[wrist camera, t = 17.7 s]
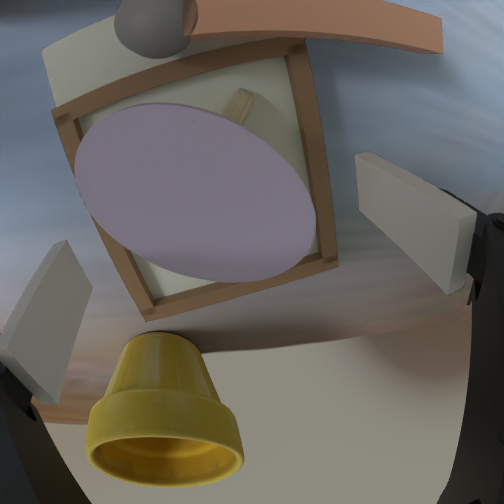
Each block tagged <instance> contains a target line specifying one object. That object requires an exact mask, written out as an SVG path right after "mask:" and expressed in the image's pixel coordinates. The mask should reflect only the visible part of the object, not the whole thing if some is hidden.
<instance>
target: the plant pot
mask: <svg viewBox="0 0 504 504" xmlns="http://www.w3.org/2000/svg"><path fill="white" fill-rule="evenodd" d="M85 450H86V456H87V458H88V460H89V462H90V463H91V464H92V465H93V466H94V467H95V468H97V469H98V470H100V471H101V472H103V473H104V474H106V475H109V476H111V477H114V478H116V479H119V480H122V481H125V482H129V483H133V484H138V485H143V486H151V487H163V488H182V487H192V486H199V485H205V484H210V483H213V482H216V481H219V480H222V479H224V478H227V477H229V476H231V475H232V474H234V473H235V472H237V471H238V470H239V469H240V468H241V467H242V465H243V463H244V453H243V448H242V442H241V438H240V433H239V429H238V426H237V422H236V419H235V416H234V415H233V413H232V412H231V410H230V409H229V408H228V407H226V406H225V405H224V404H222V403H221V401H220V399H219V397H218V394H217V392H216V390H215V388H214V386H213V383H212V380H211V378H210V376H209V373H208V371H207V368H206V366H205V363H204V360H203V358H202V355H201V353H200V351H199V350H198V349H197V347H196V346H195V345H194V344H193V343H191V342H190V341H188V340H187V339H185V338H183V337H181V336H178V335H175V334H171V333H166V332H151V333H145V334H141V335H139V336H136V337H134V338H133V339H131V340H130V341H129V342H128V343H127V344H126V345H125V346H124V348H123V350H122V352H121V355H120V357H119V360H118V363H117V365H116V368H115V370H114V373H113V375H112V377H111V380H110V382H109V385H108V387H107V390H106V392H105V395H104V397H103V398H102V399H100V400H99V401H98V402H97V403H96V404H95V405H94V406H93V408H92V410H91V412H90V416H89V421H88V427H87V434H86V447H85Z"/></svg>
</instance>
